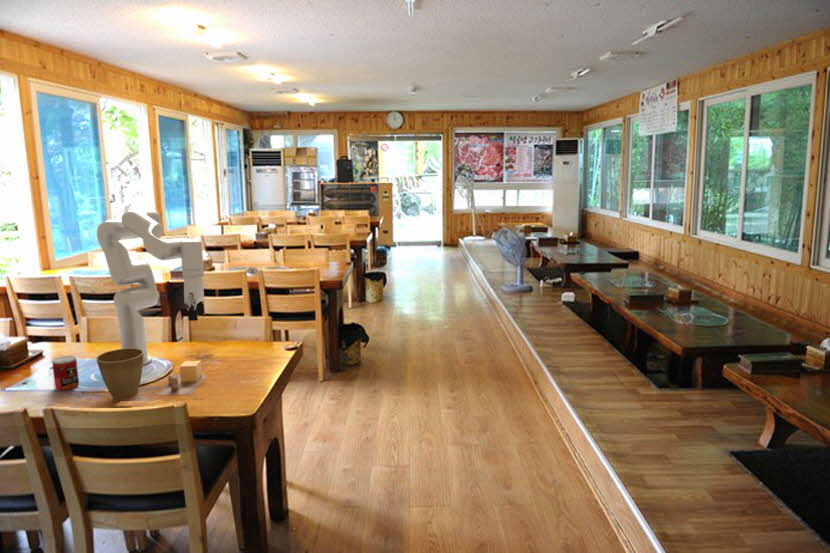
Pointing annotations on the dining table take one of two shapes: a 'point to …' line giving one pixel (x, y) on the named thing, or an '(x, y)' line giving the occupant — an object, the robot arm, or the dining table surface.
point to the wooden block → (190, 371)
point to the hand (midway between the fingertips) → (196, 317)
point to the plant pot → (121, 371)
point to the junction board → (180, 386)
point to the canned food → (65, 372)
